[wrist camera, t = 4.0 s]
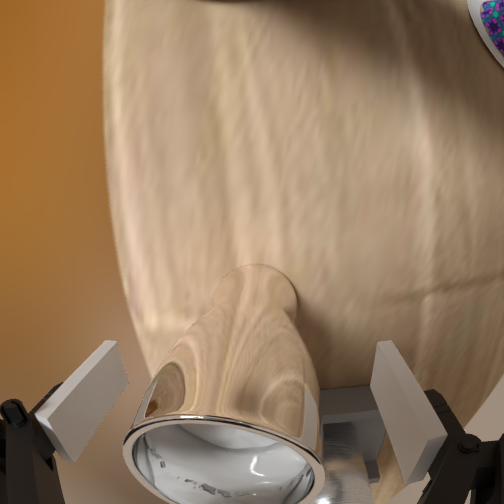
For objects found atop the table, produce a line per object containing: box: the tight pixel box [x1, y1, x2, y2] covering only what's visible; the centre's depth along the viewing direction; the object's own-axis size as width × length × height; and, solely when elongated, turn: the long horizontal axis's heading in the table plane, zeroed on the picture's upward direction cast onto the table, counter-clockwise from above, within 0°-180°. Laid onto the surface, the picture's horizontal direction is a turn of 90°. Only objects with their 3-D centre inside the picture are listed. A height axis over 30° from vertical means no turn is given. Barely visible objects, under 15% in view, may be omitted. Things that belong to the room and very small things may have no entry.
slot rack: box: [320, 385, 386, 484], centre depth 24 cm, size 23×12×3 cm, turn 3°
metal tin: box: [309, 422, 374, 504], centre depth 19 cm, size 6×6×10 cm
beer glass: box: [122, 265, 325, 504], centre depth 15 cm, size 7×7×15 cm
